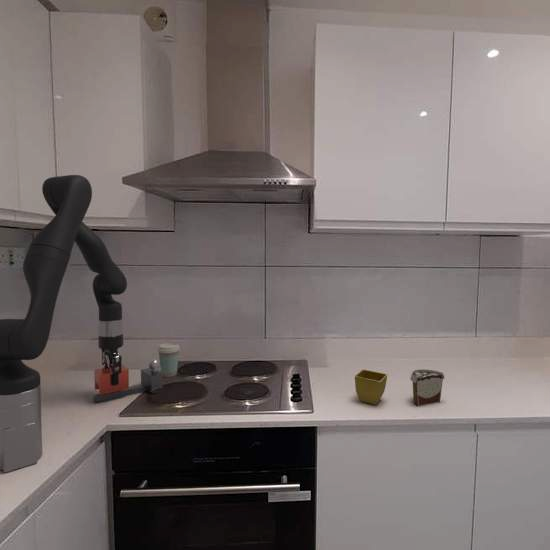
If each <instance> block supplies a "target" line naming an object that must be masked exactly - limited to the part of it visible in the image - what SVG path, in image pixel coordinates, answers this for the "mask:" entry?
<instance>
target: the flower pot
mask: <svg viewBox="0 0 550 550" xmlns="http://www.w3.org/2000/svg"><path fill="white" fill-rule="evenodd" d="M387 379H388V374H387V373H385V372H377V371H374V370H369V369H361V370H360V371H359V372H358V373H356V374H355V375H354V385H355V387H354V388H355V393H356V395H357V397H358V399H359V400H360V402H363V403H366V404H371V405H377V403H378V402H379V401H380V400H381V399H382V397H383V395H384V393H385V391H386V386H387Z"/></svg>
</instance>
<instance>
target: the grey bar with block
mask: <svg viewBox="0 0 550 550" xmlns="http://www.w3.org/2000/svg"><path fill="white" fill-rule="evenodd" d="M158 369H160V359H158V358H152V359H150V360H149V362H148V367H147V368H141V369H140V384H136V385H131V386H130V385H129V389H124V390H120V391H116V392H111V393H107V394H103V395H100V394H99V393H95V394H93V396H92V401H93V403H94V404H99V403H103V402H107V401H110V400H111V401H112V400H115V399H116V400H117V399H119V398H122V397H128V396H131V395H136V394H139V393H144V392H148V393H150V391H154V390H156V389H159V388H164V385H163V382H164V381H163V380H164V379H163V375H162V374H161V372H160V371H159V370H158Z"/></svg>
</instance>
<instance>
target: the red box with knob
mask: <svg viewBox="0 0 550 550" xmlns="http://www.w3.org/2000/svg"><path fill="white" fill-rule="evenodd" d="M115 370H117V369H116V368H115ZM129 370H130V369H128V368H127V367H126V366H125V365H123V364H121V373H119V384H118V385H115V386H112V385H111V372H110V368H108V367H107V368H104V367H103V368H97V369H94V371H93V373H94V375H93V377H94V390H96V391H97V390H98V394H100V395H103V394H107V393H111V392H116V391H120V390H124V389H129V387H130V385H129V384H130V381H129V379H130V377H129Z"/></svg>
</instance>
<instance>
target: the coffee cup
mask: <svg viewBox="0 0 550 550" xmlns="http://www.w3.org/2000/svg"><path fill="white" fill-rule="evenodd" d="M180 350H181V348H180V346H179V344H178V343H177V342H165V343H162V344H159V346H158V349H157V352H158V358H159V359H158V360H159V362H160V366H159V368H160V373H161V374H162V375H163V377H164V378H171V377H175V376H177V373H178V363H179V357H180Z"/></svg>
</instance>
